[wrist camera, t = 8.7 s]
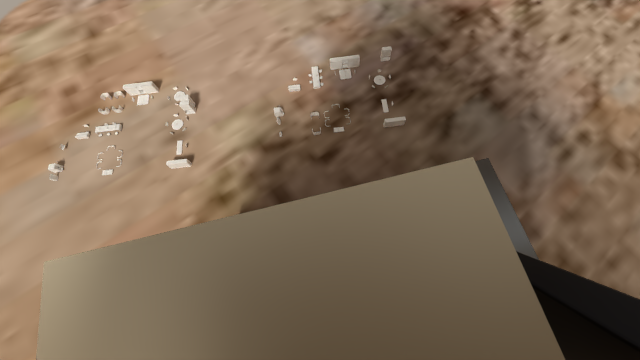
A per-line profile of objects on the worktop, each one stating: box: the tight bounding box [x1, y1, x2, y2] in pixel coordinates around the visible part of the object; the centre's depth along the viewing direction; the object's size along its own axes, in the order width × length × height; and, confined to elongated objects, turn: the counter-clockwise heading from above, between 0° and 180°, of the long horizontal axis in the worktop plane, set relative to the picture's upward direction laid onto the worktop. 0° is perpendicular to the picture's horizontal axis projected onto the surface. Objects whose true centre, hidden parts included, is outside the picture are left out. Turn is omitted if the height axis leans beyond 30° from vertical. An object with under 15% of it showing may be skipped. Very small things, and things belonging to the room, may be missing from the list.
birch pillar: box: [36, 157, 565, 360], centre depth 9 cm, size 5×5×13 cm
